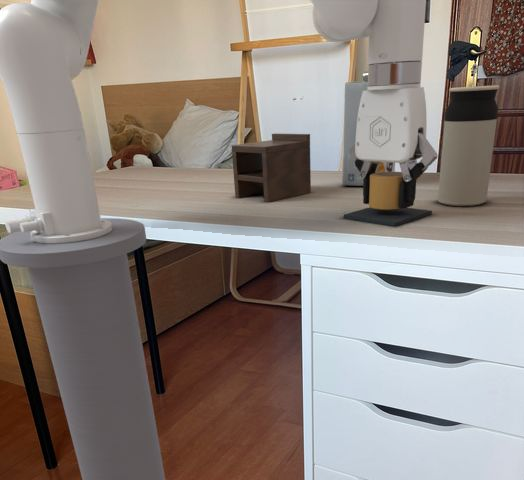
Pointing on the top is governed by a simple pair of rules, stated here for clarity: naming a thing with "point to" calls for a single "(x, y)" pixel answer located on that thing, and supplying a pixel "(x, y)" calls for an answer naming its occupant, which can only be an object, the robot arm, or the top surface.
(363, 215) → the mat
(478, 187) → the travel mug
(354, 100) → the hard drive box
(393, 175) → the tape roll
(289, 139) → the rack
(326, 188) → the top surface
